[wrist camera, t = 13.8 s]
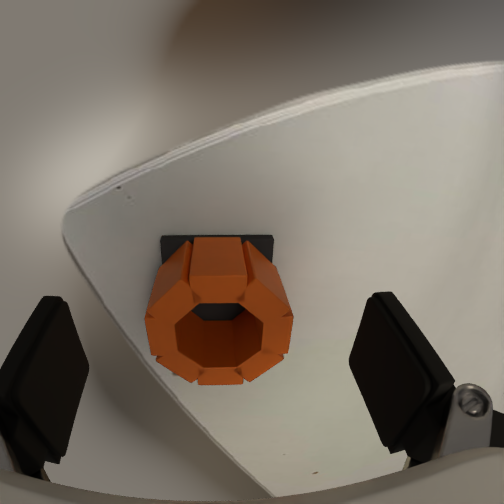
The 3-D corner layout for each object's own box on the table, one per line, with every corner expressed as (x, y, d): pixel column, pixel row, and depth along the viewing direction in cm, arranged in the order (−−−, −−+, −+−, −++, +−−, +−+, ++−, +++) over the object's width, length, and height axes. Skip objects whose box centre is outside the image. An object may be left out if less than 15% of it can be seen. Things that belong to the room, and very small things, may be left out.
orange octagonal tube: (152, 237, 16) (137, 275, 13) (282, 236, 17) (299, 274, 14) (164, 337, 19) (157, 384, 16) (272, 335, 20) (283, 382, 16)
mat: (161, 235, 17) (160, 239, 16) (272, 234, 18) (274, 238, 17) (170, 323, 20) (169, 329, 19) (265, 322, 20) (266, 328, 20)
